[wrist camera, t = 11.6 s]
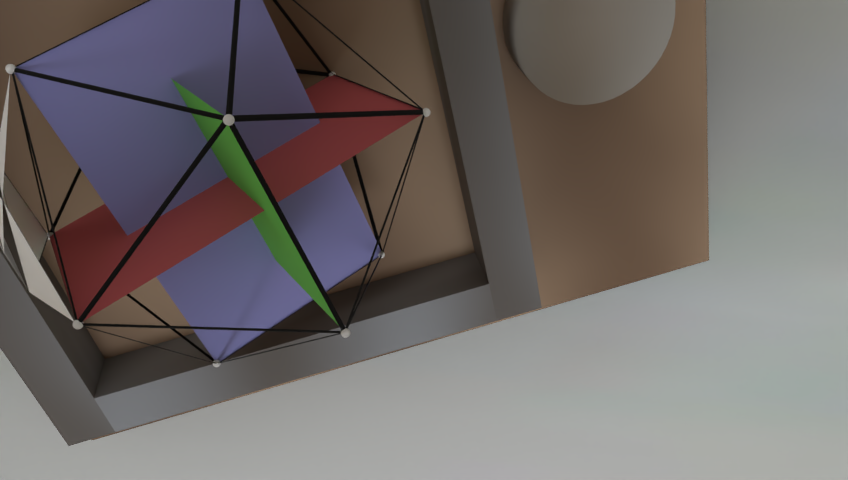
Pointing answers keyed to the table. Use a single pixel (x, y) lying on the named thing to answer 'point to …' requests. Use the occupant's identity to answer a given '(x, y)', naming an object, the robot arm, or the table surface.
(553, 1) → the carrier board
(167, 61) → the icosahedron model
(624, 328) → the table surface
